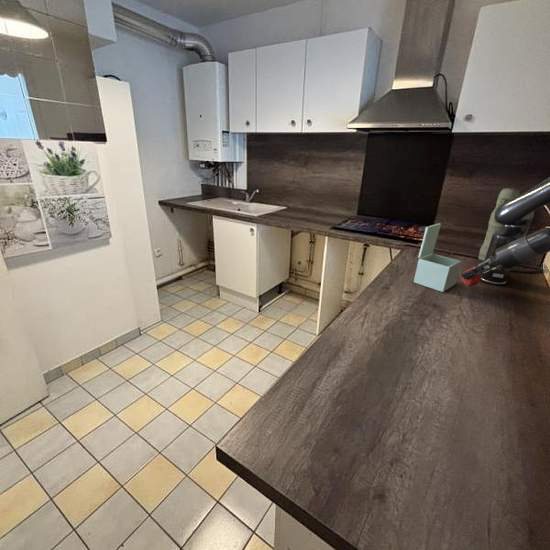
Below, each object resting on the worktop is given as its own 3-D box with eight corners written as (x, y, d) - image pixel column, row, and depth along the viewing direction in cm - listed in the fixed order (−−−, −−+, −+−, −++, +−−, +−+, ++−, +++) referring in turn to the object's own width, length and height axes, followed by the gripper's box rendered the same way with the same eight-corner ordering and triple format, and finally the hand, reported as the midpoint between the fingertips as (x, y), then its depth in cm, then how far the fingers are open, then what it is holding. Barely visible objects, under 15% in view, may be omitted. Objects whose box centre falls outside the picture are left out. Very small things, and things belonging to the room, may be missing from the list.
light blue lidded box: (454, 284, 119) (461, 260, 115) (442, 292, 112) (449, 267, 108) (426, 275, 127) (431, 253, 123) (413, 282, 120) (418, 258, 116)
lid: (441, 223, 117) (429, 221, 120) (428, 227, 110) (415, 224, 114) (433, 252, 122) (421, 249, 126) (420, 258, 115) (408, 254, 119)
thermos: (501, 259, 148) (526, 188, 134) (494, 264, 141) (519, 190, 127) (482, 255, 154) (503, 186, 140) (474, 259, 147) (496, 188, 133)
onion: (455, 283, 109) (461, 263, 106) (470, 283, 109) (476, 263, 106) (466, 290, 104) (472, 269, 100) (481, 290, 104) (488, 269, 101)
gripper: (518, 267, 88) (464, 289, 101) (530, 257, 96) (479, 278, 110) (503, 246, 90) (452, 270, 103) (516, 238, 98) (467, 261, 111)
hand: (466, 274), depth 106 cm, fingers closed on onion, 5 cm apart
